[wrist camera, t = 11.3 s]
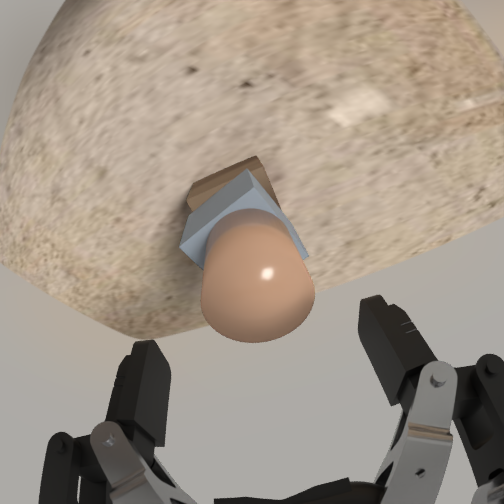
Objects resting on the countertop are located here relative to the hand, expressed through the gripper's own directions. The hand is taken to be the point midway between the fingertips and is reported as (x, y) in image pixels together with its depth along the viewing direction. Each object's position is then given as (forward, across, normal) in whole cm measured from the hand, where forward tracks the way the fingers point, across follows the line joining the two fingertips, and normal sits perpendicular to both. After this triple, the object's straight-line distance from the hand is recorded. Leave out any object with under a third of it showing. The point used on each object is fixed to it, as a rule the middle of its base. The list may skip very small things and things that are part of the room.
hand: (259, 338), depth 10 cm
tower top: (+12, 0, 0) cm, 12 cm away
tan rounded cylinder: (+7, 0, 0) cm, 7 cm away
